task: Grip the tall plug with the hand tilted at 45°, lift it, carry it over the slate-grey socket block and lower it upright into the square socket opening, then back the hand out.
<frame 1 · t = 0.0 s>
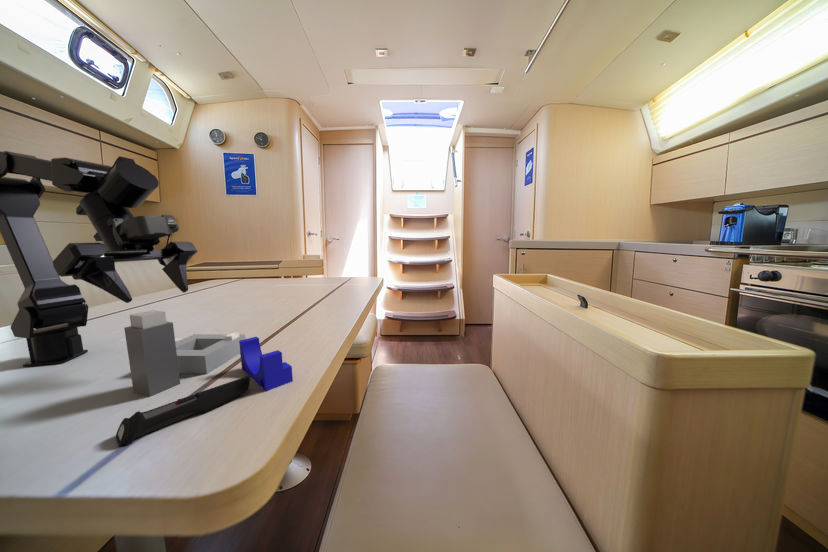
hand: (160, 296, 52), 15 cm above the table, tool tilted 35°, fingers open, 9 cm apart
cable clip: (266, 377, 53), on the table
electric trimmer: (190, 416, 42), on the table
socket: (200, 360, 60), on the table
plug: (157, 387, 49), on the table
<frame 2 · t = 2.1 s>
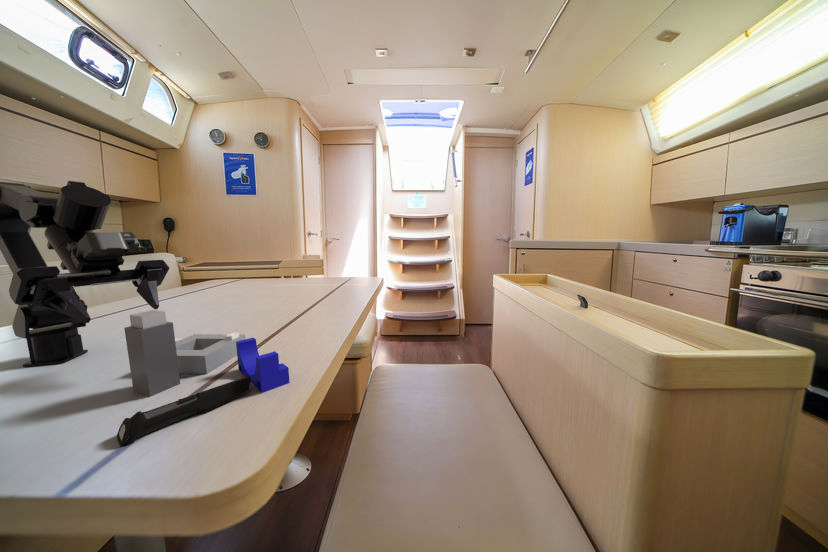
hand: (125, 314, 49), 12 cm above the table, tool tilted 45°, fingers open, 9 cm apart
nothing on the table moved.
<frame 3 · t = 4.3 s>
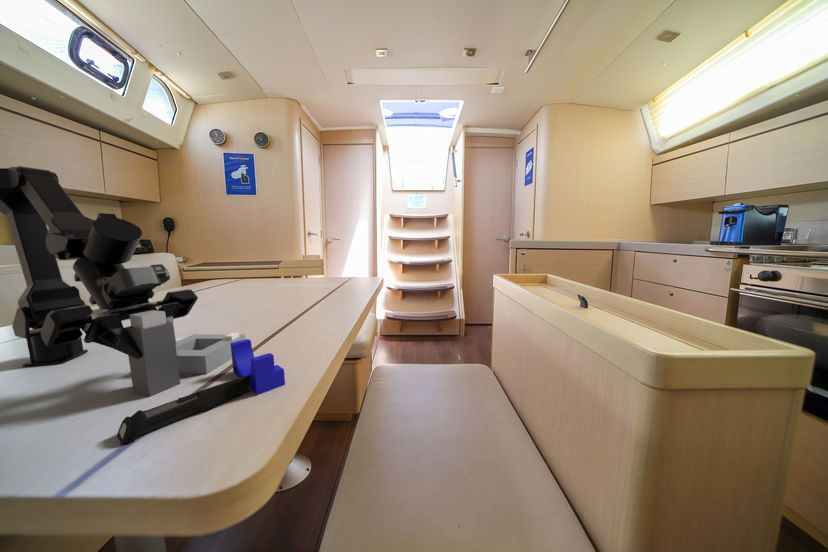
hand: (157, 351, 48), 7 cm above the table, tool tilted 45°, fingers closed on plug, 4 cm apart
plug: (157, 387, 49), on the table, touching gripper
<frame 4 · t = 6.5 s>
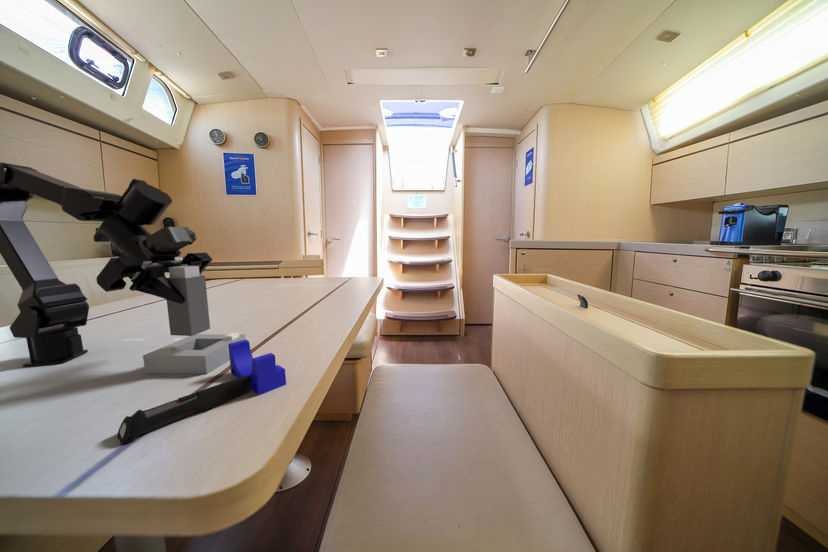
hand: (194, 299, 56), 13 cm above the table, tool tilted 45°, fingers closed on plug, 4 cm apart
plug: (191, 331, 57), point 7 cm above the table, touching gripper
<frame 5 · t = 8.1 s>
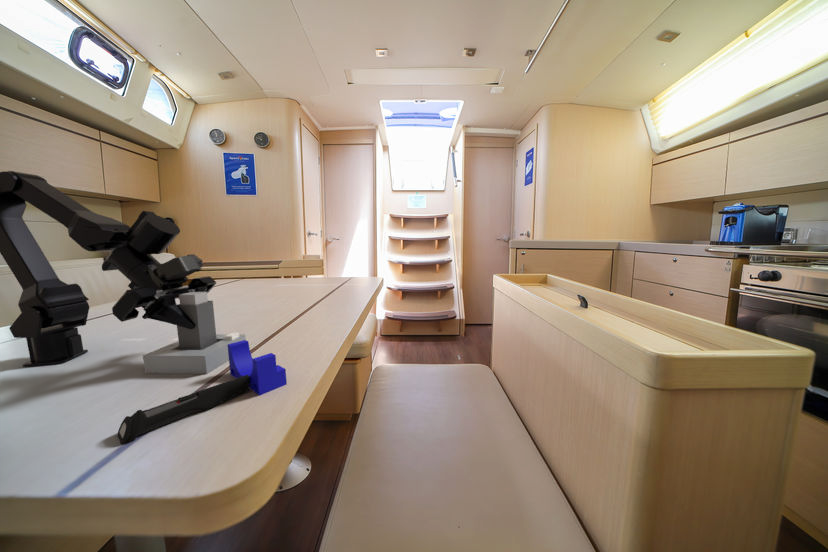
hand: (202, 324, 59), 8 cm above the table, tool tilted 45°, fingers closed on plug, 4 cm apart
plug: (199, 354, 60), point 1 cm above the table, touching gripper
when the fingers open (7 cm above the table, at t = 8.5 s): plug stays where it is, resting in socket.
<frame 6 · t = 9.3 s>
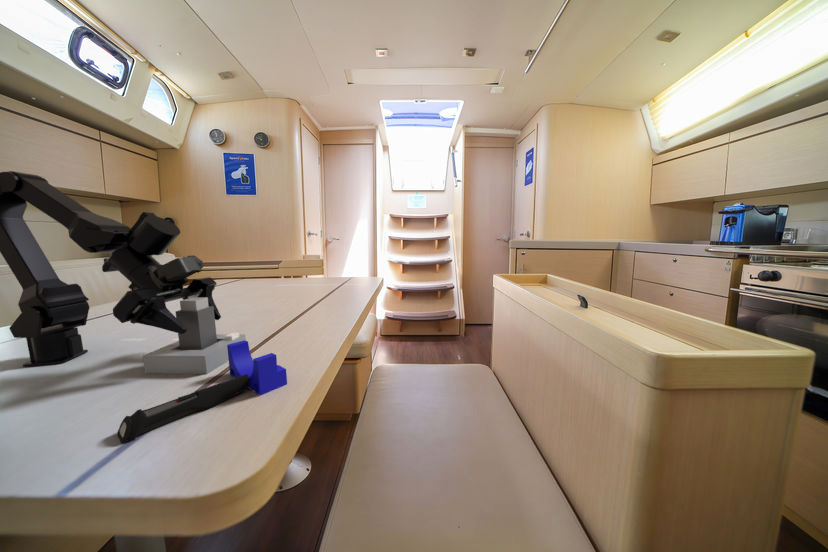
hand: (203, 324, 59), 8 cm above the table, tool tilted 45°, fingers open, 9 cm apart
plug: (200, 360, 60), resting in socket
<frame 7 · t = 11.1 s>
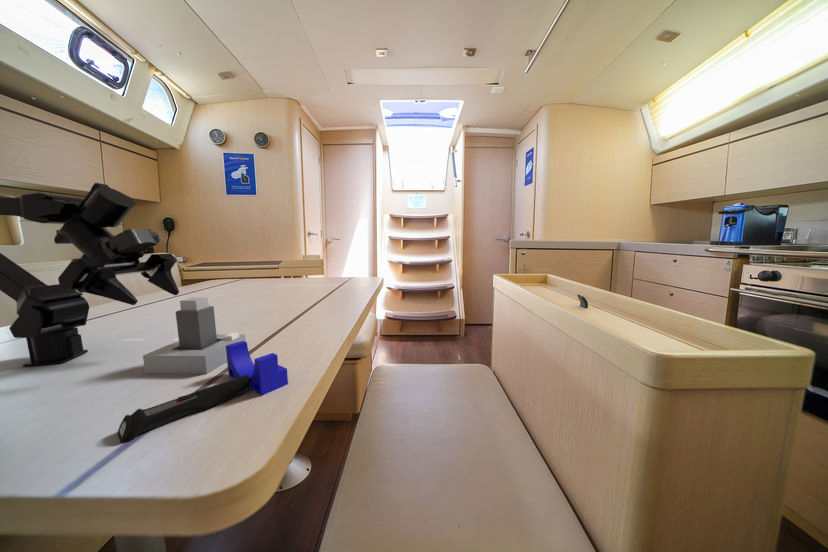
hand: (158, 298, 59), 13 cm above the table, tool tilted 45°, fingers open, 9 cm apart
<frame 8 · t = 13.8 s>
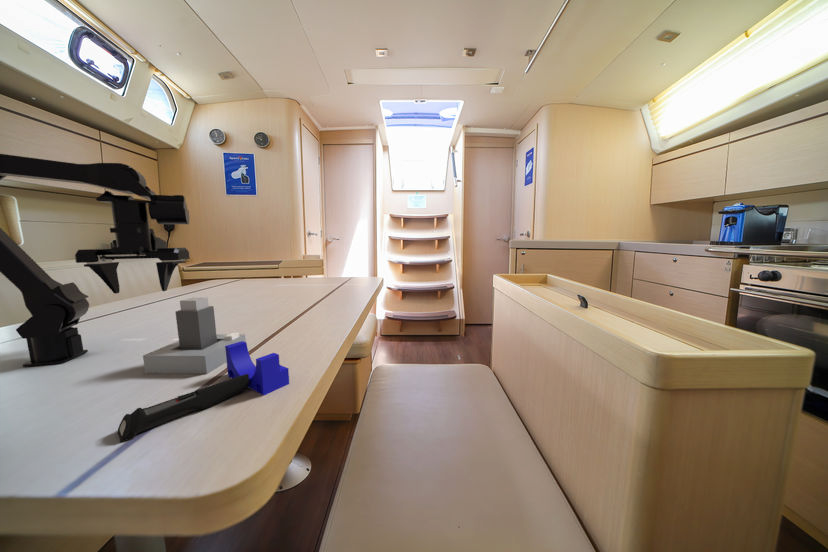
hand: (141, 292, 67), 13 cm above the table, tool pointing down, fingers open, 9 cm apart
at the end: plug 0.0 cm off-centre on the socket, point 0.0 cm above the socket's base; plug tilted 0°; the gripper is holding nothing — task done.
